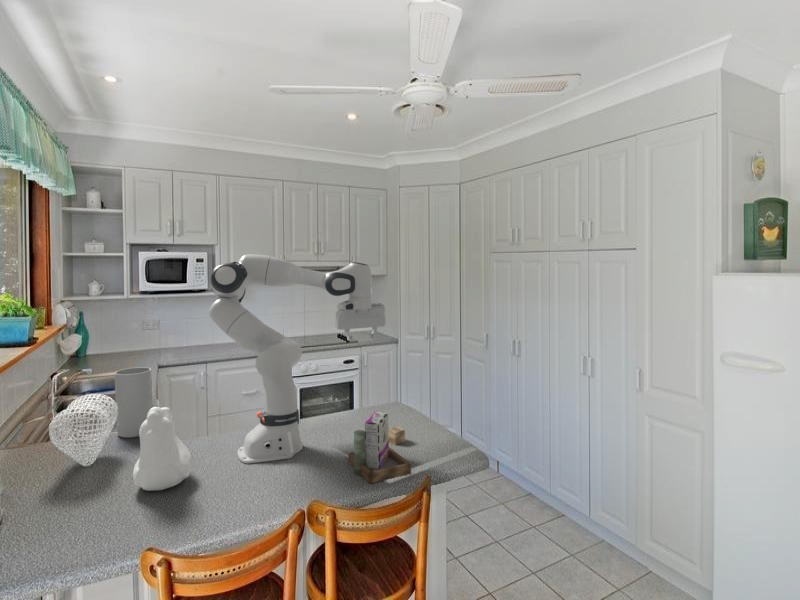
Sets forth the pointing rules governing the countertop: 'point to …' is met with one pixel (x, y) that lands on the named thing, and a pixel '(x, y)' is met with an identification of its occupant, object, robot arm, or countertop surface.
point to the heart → (102, 437)
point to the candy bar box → (376, 440)
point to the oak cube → (396, 435)
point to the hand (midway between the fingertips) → (361, 339)
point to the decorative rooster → (160, 453)
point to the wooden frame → (359, 464)
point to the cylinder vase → (132, 399)
